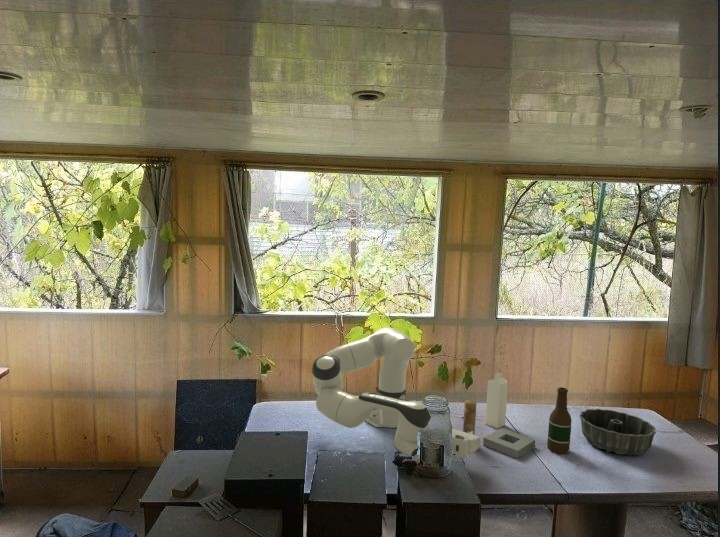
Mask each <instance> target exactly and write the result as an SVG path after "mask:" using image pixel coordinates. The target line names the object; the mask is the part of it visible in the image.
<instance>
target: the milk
mask: <svg viewBox="0 0 720 537" xmlns="http://www.w3.org/2000/svg"><path fill="white" fill-rule="evenodd" d="M508 385H509V380H506V379H505V378H504V377H503V372H500V373H498V374H497V373H496V374H494V378H493V379H489V380H487V391H486V409H485V425H488V426H490V427H493V428H495V429H497V430H499V429H501V428H503V426H506V420H507V419H506V416H507V403H508V402H507V400H508V387H509V386H508Z"/></svg>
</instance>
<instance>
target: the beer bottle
mask: <svg viewBox="0 0 720 537" xmlns="http://www.w3.org/2000/svg"><path fill="white" fill-rule="evenodd" d="M556 390H557V395H556V402H555V403H556V404H555V407H554V409H553V410H551V413H550V415H549V419H548V429H547V432H548V433H547V441H546V442H547V445H546V446H547V449H548V450H549V451H550V452H551V453H553V454H557V455H567V454H568V453H569V452H570V447H571V446H570V445H571V434H572V433H571V432H572V417H571V414H570V413H569V411H568V393H569V391H568V389H567V388H566V387H561V386H560V387H558V388H557V389H556Z"/></svg>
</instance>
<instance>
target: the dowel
mask: <svg viewBox="0 0 720 537" xmlns="http://www.w3.org/2000/svg"><path fill="white" fill-rule="evenodd" d="M463 407H464V408H463V409H464V410H463V424H462V425H463V426H462V427H463V428H462V432H466V433H468V431H469V430H470V431H473V435H476V434H475V432H476V416H477V402H476V401H475V400H470V399H469V400H468V399H467V400H465V401H464V405H463Z"/></svg>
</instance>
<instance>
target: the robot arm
mask: <svg viewBox="0 0 720 537" xmlns="http://www.w3.org/2000/svg"><path fill="white" fill-rule="evenodd" d="M415 349H416V348H415V344H414V342H413V341H412V339H411V338H410V337H409V336H408V335H407V334H405V333H403V332H401V331H399V330H397V329H396V328H393V327H390V326H384V327H381V328H379V329H378V330H377V331H376V332H373V333H372V334H370V335H368V336H367V337H364V338H362V339H358V340H355V341H352V342H349V343H346V344H345V343H344V344H342V345H339V346H337V347H335V348H334V349H331V350H329V351H328V352H326V353H325V354H324V355H321V356H319V357H318V358H316V359H315V360H314V361H313V363H312V367H311V368H312V370H311V372H312V382H313V386H314V389H315V396H316V400H315V407H316V409H317V411H318V412H320V413H321V414H322V416H325V417H326V418H327V419H329V420H330V421H332V422H335V423H337V424H339V425H340V426H343V427H345V428H349V429H354V428H357V427H359V426H360V425H362V424H363V423H365V422H367V423H369V424H370V425H372V426H373V427H375V428H390V429H391V428H393V429H394V428H396V431H395V436H394V439H393V440H394V441H393V446H394V447H395V450H396V451H397V452H398V453H399V454H400V453H405V454H408V455H410V456H415V455H416V454H417V451H418V445H417V433H418V431H419V430H421V429H422V428H425V427H426V426H427V425H428V423H429V421H430V422H431V418H432V415H431V416H430V414H429V412H428V410H427V408H428V407H427V408H426V407H425V405H426V404H425V403H424V402H421V401H417V400H409V399H406V397H407V389H406V378H407V369H408V365H409V362H410V359H411V358H413V357H414V354H415ZM382 357H384V358H383V362H382V365H381V367H380V368H379V374H378V375H379V376H378V379H379V380H378V386H377V387H376V386H375V387H374V388H373V391H374V392H371V391H370V392H369V391H368V392H367V391H365V392H362V393H360V394H359V395H354V394H350V393H348V392H346V391H344V389H343V387H344V386H343V382H344V381H343V375H344V374H345V373H350V372H354V371H356V370H359V369H362V368H366V367H369V366H372V365H373V364H374V363H375V362H376V361H377V360H379V359H381V358H382ZM424 404H425V405H424ZM480 445H481V438H480V436H478V435H476V434H475V435H473V431H470V430H469V431H468V433H466V432H463V430H458V429H456V428H452V451H453V454H456V455H460V456H461V457H462V458H461V459H466V458H467V457H468V455H470V454H474V452H476V451H477V450H478V449H480Z"/></svg>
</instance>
